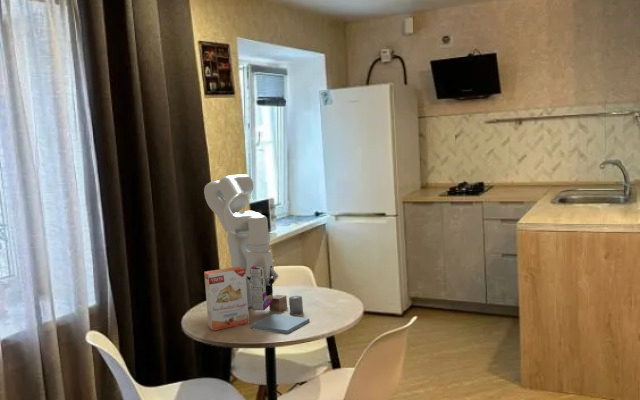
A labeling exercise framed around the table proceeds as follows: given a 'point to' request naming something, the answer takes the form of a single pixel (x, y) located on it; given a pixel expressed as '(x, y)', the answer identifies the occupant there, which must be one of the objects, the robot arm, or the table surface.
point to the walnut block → (278, 303)
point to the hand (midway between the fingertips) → (262, 293)
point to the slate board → (280, 323)
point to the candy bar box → (259, 289)
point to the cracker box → (226, 298)
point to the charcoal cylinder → (296, 305)
